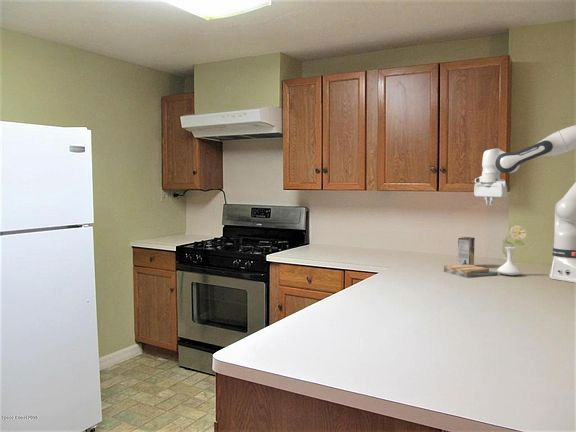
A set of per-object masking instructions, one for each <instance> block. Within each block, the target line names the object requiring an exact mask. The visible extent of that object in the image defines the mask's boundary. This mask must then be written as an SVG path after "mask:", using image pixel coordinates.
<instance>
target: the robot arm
mask: <svg viewBox="0 0 576 432" xmlns="http://www.w3.org/2000/svg"><path fill="white" fill-rule="evenodd" d="M574 149H575V150H576V124H574V125H570V126H568V127H565V128H562V129H560V130H559V131H558V130H557V131H555V132H553V133H551V134H549V135H548V136H546V137H545V138H543V139H541V140H540V141H538V142H536V143H535V144H533V145H530V146H527V147H525V148H522V149H520V150H517V151H514V152H506V151H504V150H502V149H500V148H498V147H493V148H489V149H486V150H484V152H483V155H482V158H481V159H482V161H481V167H482V171H481V175H480V176H479V177H476V178H475V179H474V187H473V194H474V196H475V197H483V198H484V200H485V203H486V206H488V207H491V206H492V207H493V206H494V202H495V200H496V198H507V196H508V187H507V181H506V180H505V179H504V178H501V173H502V174H512V173H514V172H515V173H516V172H517V171H518V170H519V169H520V167H521V165H522V164H524V163H526V162H529V161H531V160H534V159H536V158H540V157H546V156H547V157H548V156H549V157H550V156H551V157H554V156H558V155H562V154H565V153H567V152H570V151H573V150H574ZM551 252H552V263H551V266H550V267H551V268H550V271H549V274H548V277H549V278H550V279H552V280H558V281H563V282H570V283H575V284H576V181H575V182H574V183H573V185H572V186H570V188H569V189H568V191H567V192H566V193H565V194H564V195H563V197H562V198H561V199H559V200H558V201H557V202H556V204H555V206H554V237H553V247H552V251H551Z"/></svg>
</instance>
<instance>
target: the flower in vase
mask: <svg viewBox="0 0 576 432" xmlns="http://www.w3.org/2000/svg"><path fill="white" fill-rule="evenodd" d="M527 234H528V231H527V230H526V229H525V227H524V226H521V225H515V226H512V227H511V228H510V231H509V235H510V237H511V238H512V239H514V240H515V241H514V242H513V244H512V242H509V241H508V240H506V239H505V243H506V244H507V245H511V246H504V249H505V251H506V254H507V255H506V256H507V257H506V261H505V263H503V264H502V265H501V266H499V267H498V268H497V269H496V272H498V274H500V275H501V274H502V275H505V276H519V275H521V274H522V273H523V271H522V270H521V269H520V267H518V266H517V265H516V264H515V263H514V262H513V256H514V255H513V254H514V251H515V250H516V247H513V246H514V245H515V244H516V245H517V246H525V243H524V242H523V241H522V240H525V239H527V238H526V237H527V236H528V235H527Z"/></svg>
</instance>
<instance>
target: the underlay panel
mask: <svg viewBox="0 0 576 432" xmlns="http://www.w3.org/2000/svg"><path fill="white" fill-rule="evenodd" d="M451 266H452V265H444V266H443V272H444V273H448V274H453V275H456V276H459V277H463V278H476V277H477V278H478V277H494V276H498V274H499V273H498V272H497V271H493V270H491V269H489V272H482V273H472V274H470V271H468V270H464V269H460V268H455V267H451Z"/></svg>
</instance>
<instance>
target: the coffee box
mask: <svg viewBox="0 0 576 432" xmlns="http://www.w3.org/2000/svg"><path fill="white" fill-rule="evenodd" d="M464 264H470V265H474V266H475V237H470V236H468V237H467V236H462V237H459V238H458V241H457V265H464Z"/></svg>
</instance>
